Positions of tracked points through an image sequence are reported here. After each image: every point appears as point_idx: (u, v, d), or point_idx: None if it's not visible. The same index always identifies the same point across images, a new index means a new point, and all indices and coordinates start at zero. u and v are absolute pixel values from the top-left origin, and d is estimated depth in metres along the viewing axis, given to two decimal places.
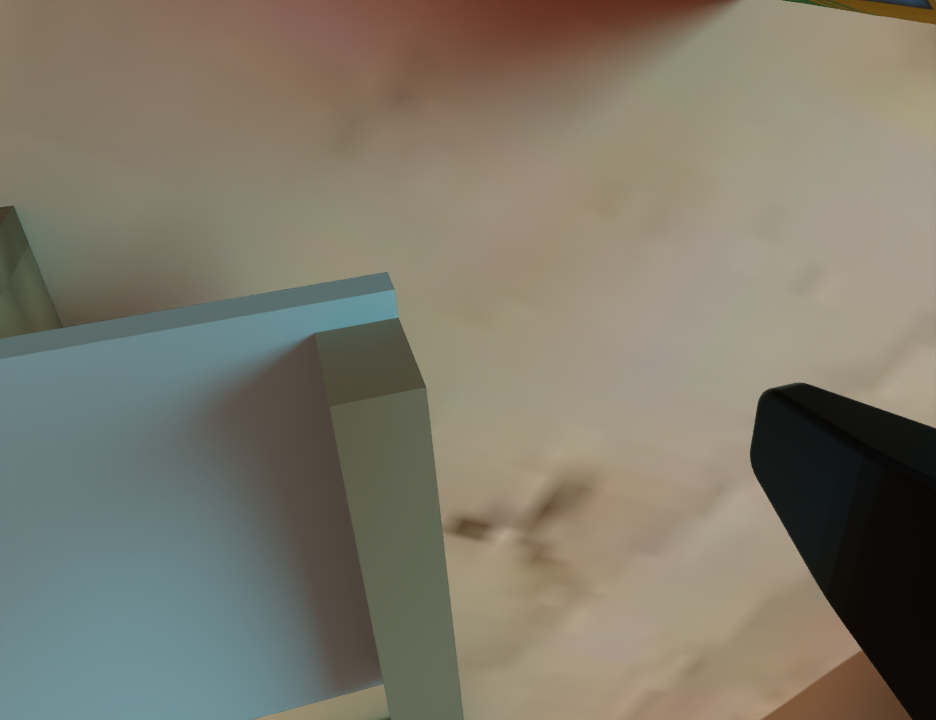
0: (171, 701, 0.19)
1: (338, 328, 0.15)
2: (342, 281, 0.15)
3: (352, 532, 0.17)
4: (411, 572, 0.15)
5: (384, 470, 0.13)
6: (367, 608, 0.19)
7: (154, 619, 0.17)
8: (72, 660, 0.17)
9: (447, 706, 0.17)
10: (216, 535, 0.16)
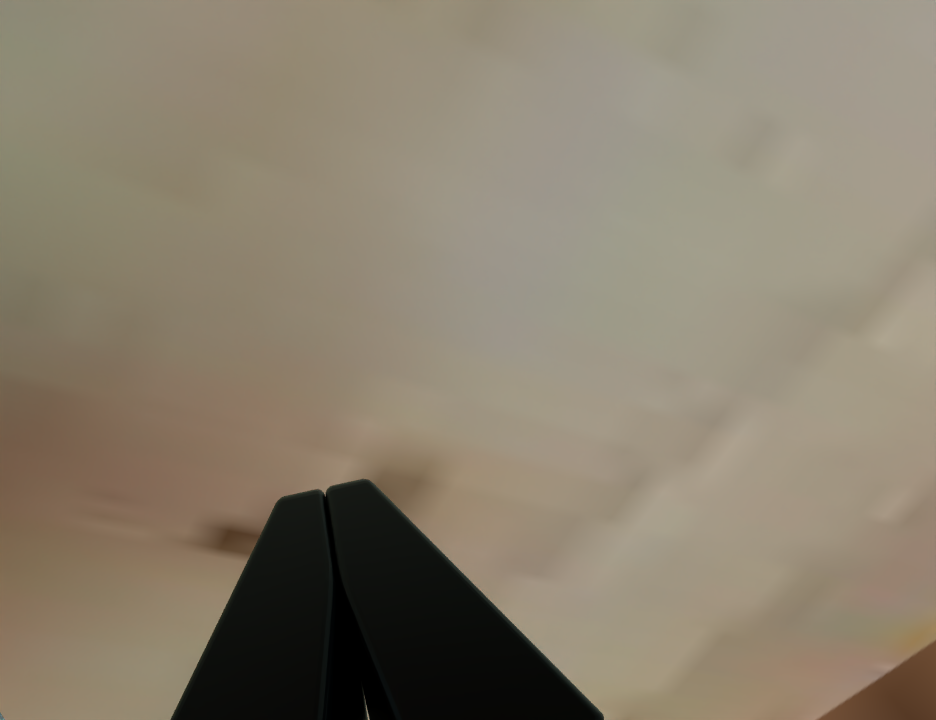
0: None
1: None
2: None
3: None
4: None
5: None
6: None
7: None
8: None
9: None
10: None
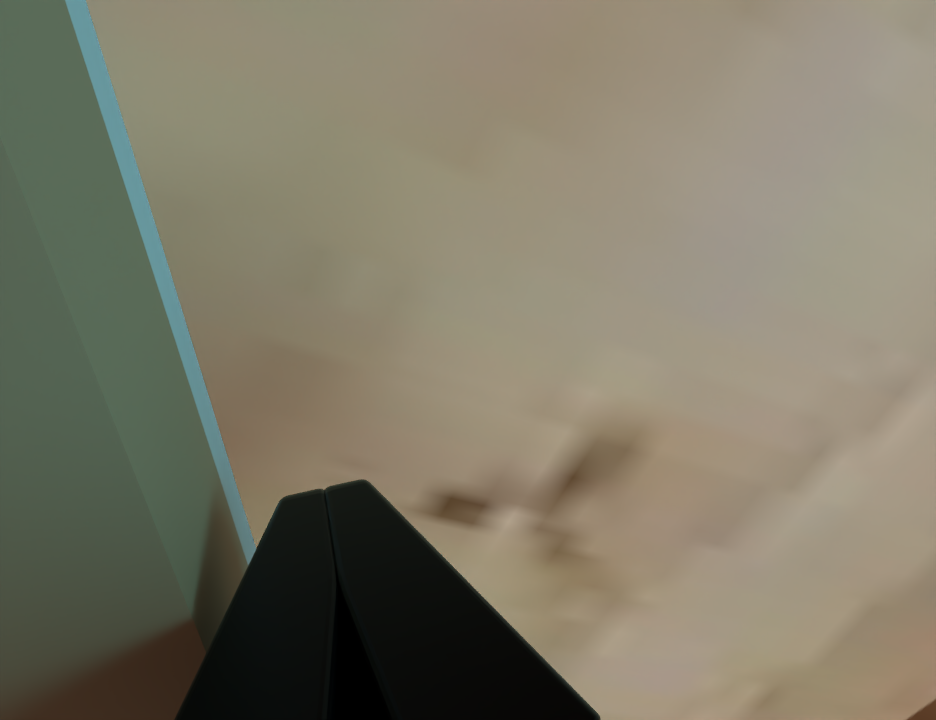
0: None
1: None
2: None
3: None
4: (84, 629, 0.05)
5: None
6: None
7: None
8: None
9: None
10: None
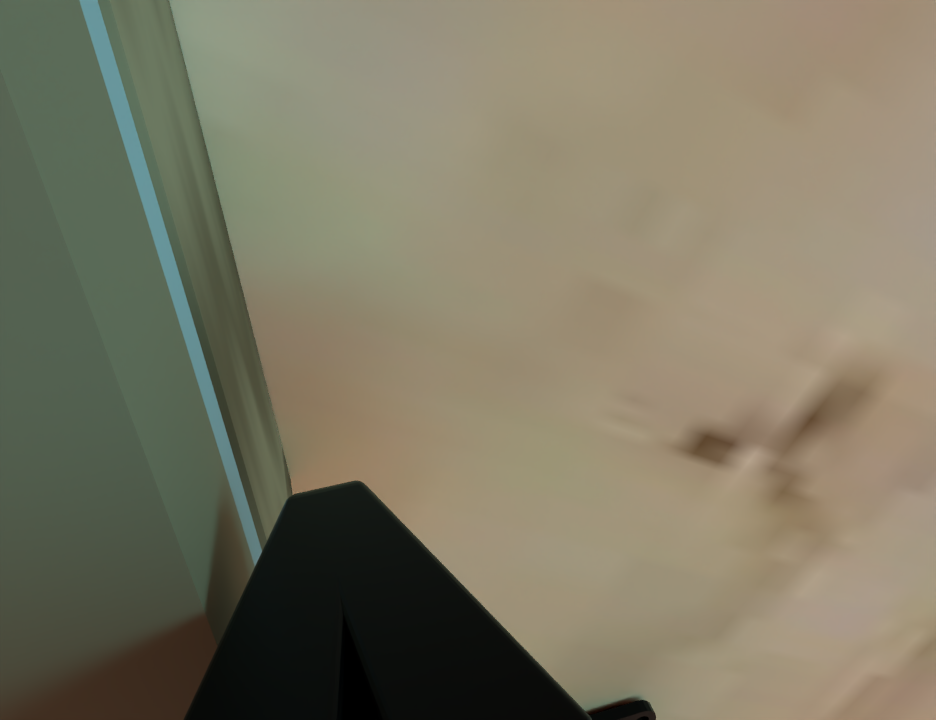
0: None
1: None
2: None
3: None
4: (97, 624, 0.05)
5: None
6: None
7: None
8: None
9: None
10: None
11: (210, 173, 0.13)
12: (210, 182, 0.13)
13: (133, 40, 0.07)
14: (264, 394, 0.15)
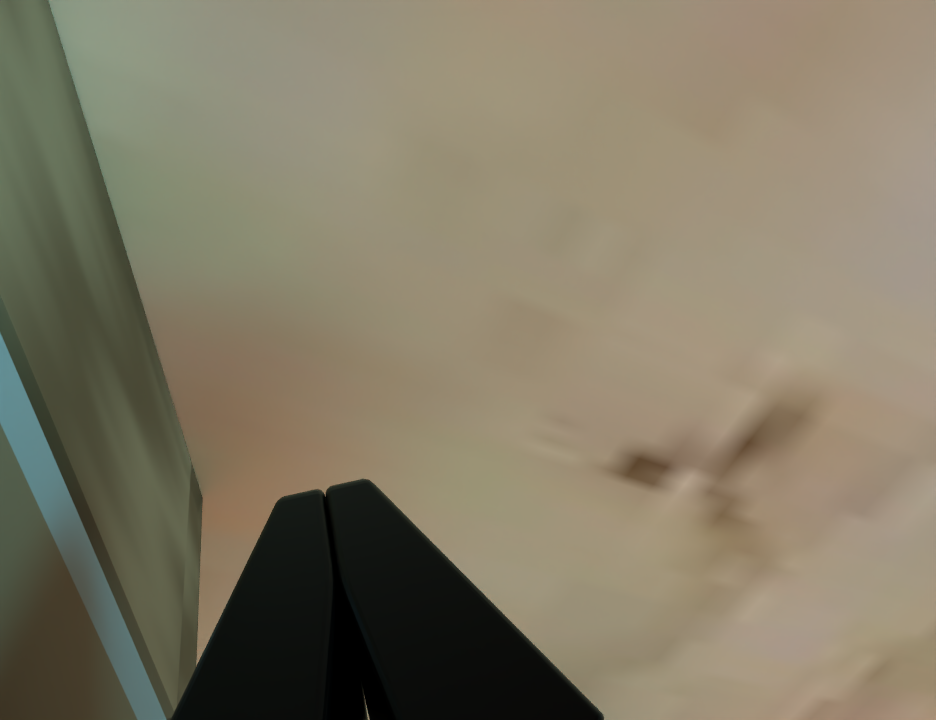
0: None
1: None
2: None
3: None
4: None
5: None
6: None
7: None
8: None
9: None
10: None
11: (99, 186, 0.13)
12: (96, 195, 0.12)
13: None
14: (163, 412, 0.14)
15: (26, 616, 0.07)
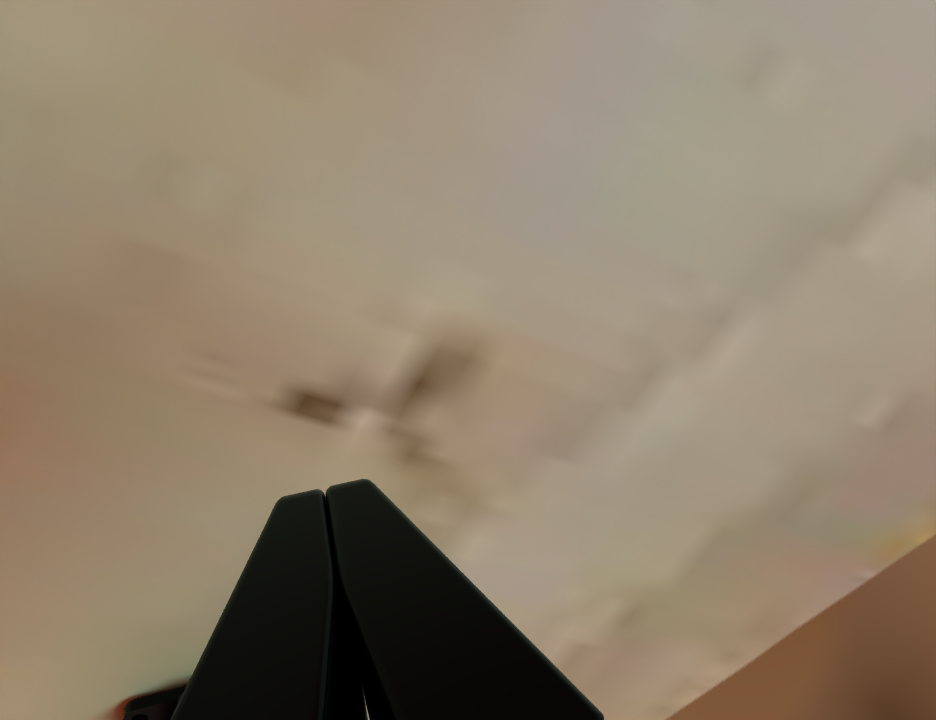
0: None
1: None
2: None
3: None
4: None
5: None
6: None
7: None
8: None
9: None
10: None
11: None
12: None
13: None
14: None
15: None
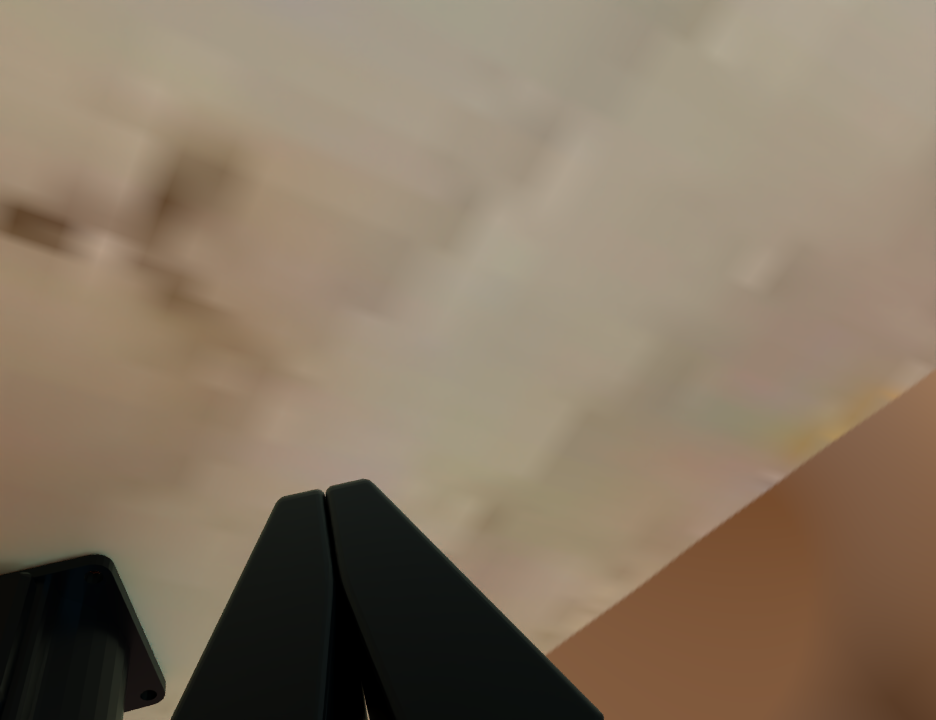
0: None
1: None
2: None
3: None
4: None
5: None
6: None
7: None
8: None
9: None
10: None
11: None
12: None
13: None
14: None
15: None
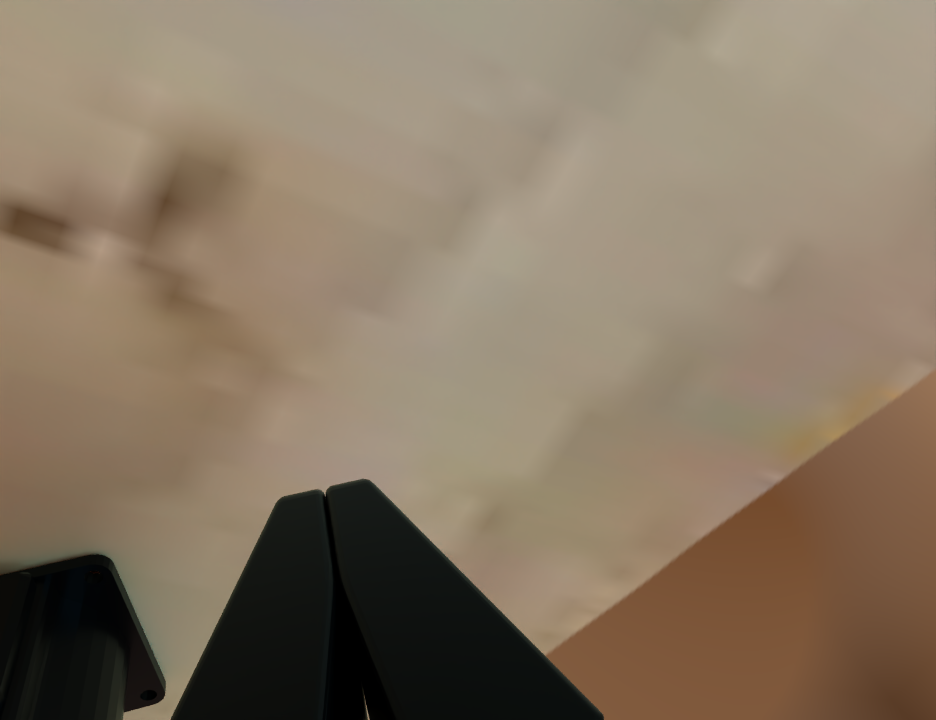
0: None
1: None
2: None
3: None
4: None
5: None
6: None
7: None
8: None
9: None
10: None
11: None
12: None
13: None
14: None
15: None
